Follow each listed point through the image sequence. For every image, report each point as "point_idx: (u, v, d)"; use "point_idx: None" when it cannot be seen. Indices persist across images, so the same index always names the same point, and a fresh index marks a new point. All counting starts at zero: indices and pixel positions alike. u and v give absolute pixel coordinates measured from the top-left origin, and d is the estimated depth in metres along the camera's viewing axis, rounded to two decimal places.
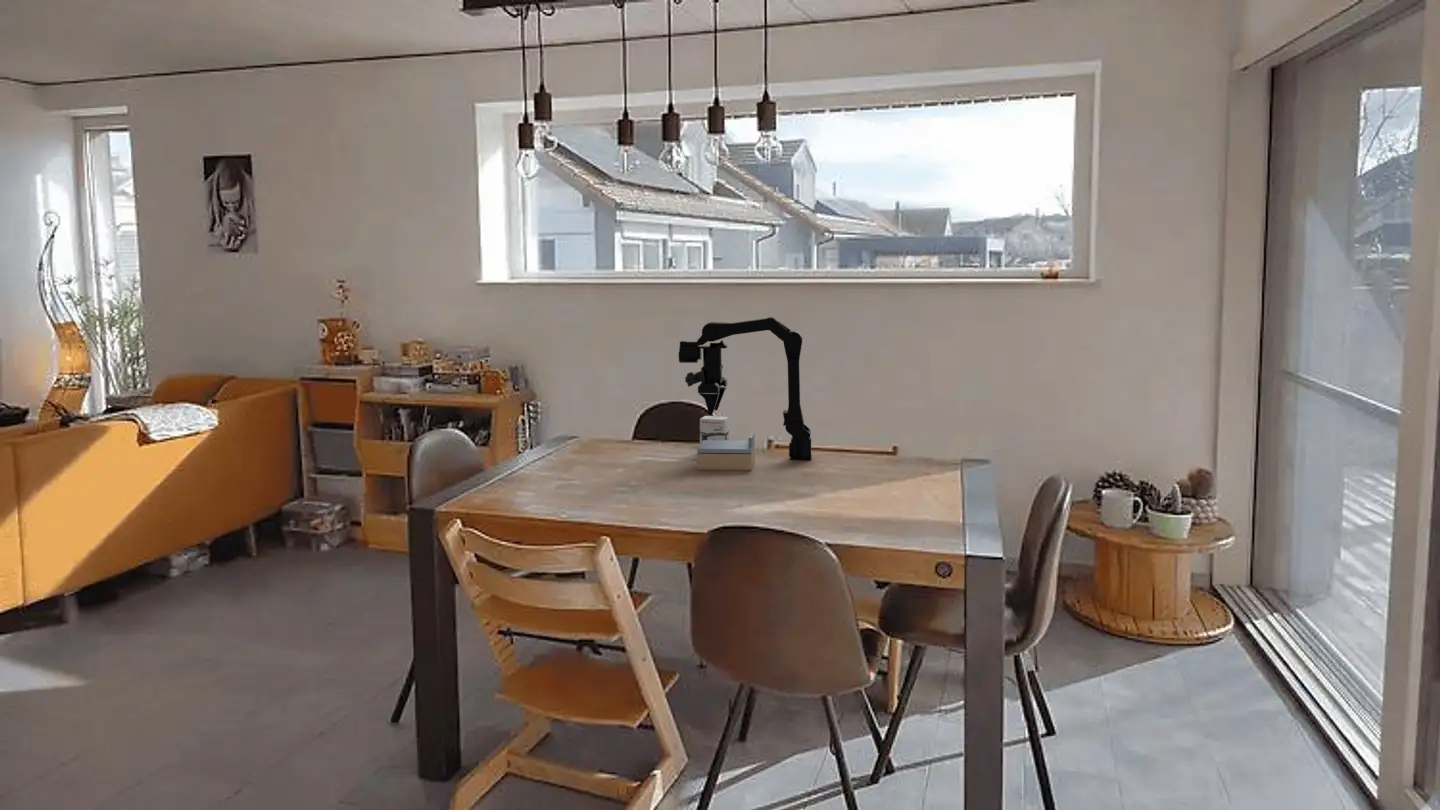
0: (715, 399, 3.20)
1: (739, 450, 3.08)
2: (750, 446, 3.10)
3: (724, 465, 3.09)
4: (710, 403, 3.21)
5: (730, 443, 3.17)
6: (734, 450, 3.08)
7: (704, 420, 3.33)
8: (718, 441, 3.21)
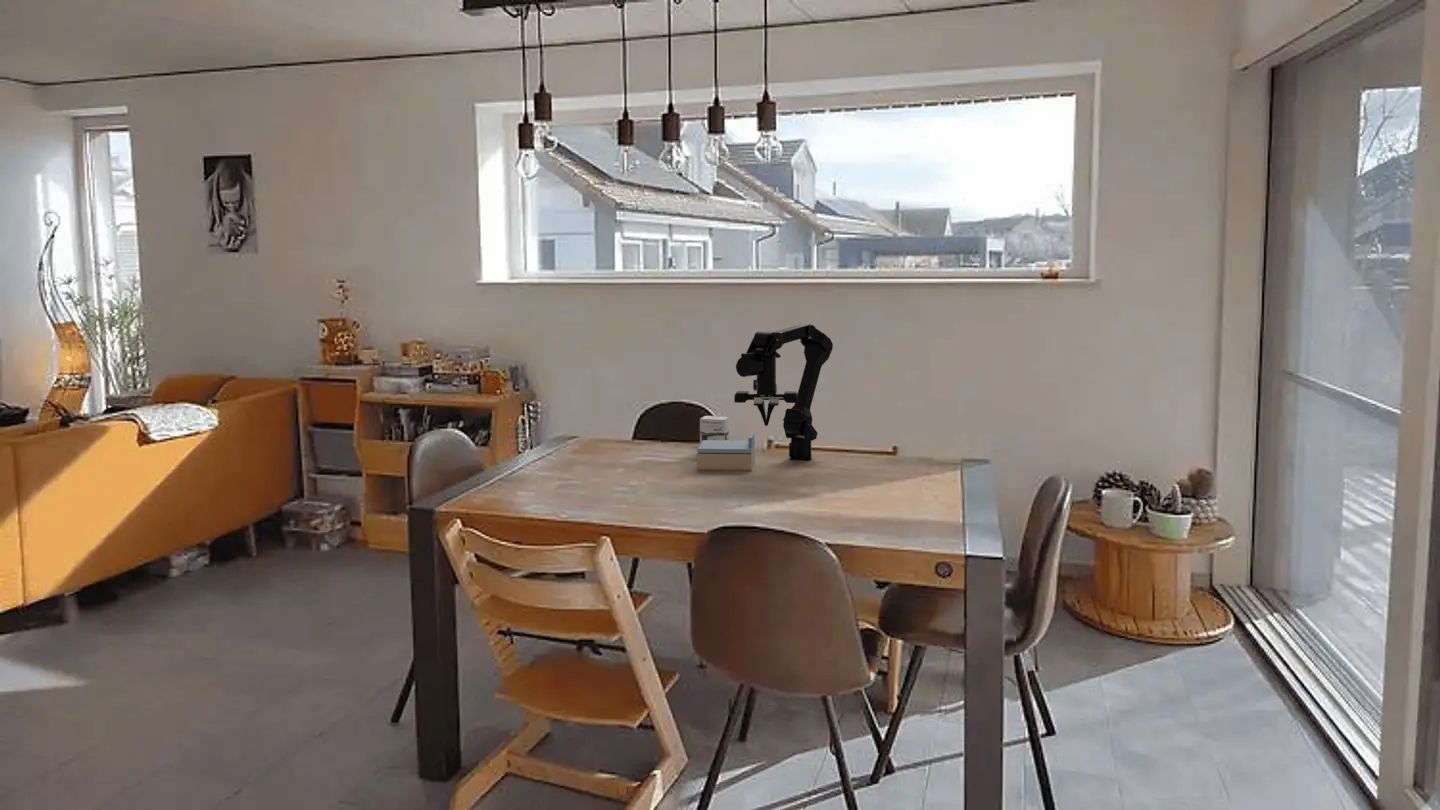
0: None
1: (739, 450, 3.08)
2: (750, 446, 3.10)
3: (724, 465, 3.09)
4: None
5: (730, 443, 3.17)
6: (734, 450, 3.08)
7: (704, 420, 3.33)
8: (718, 441, 3.21)
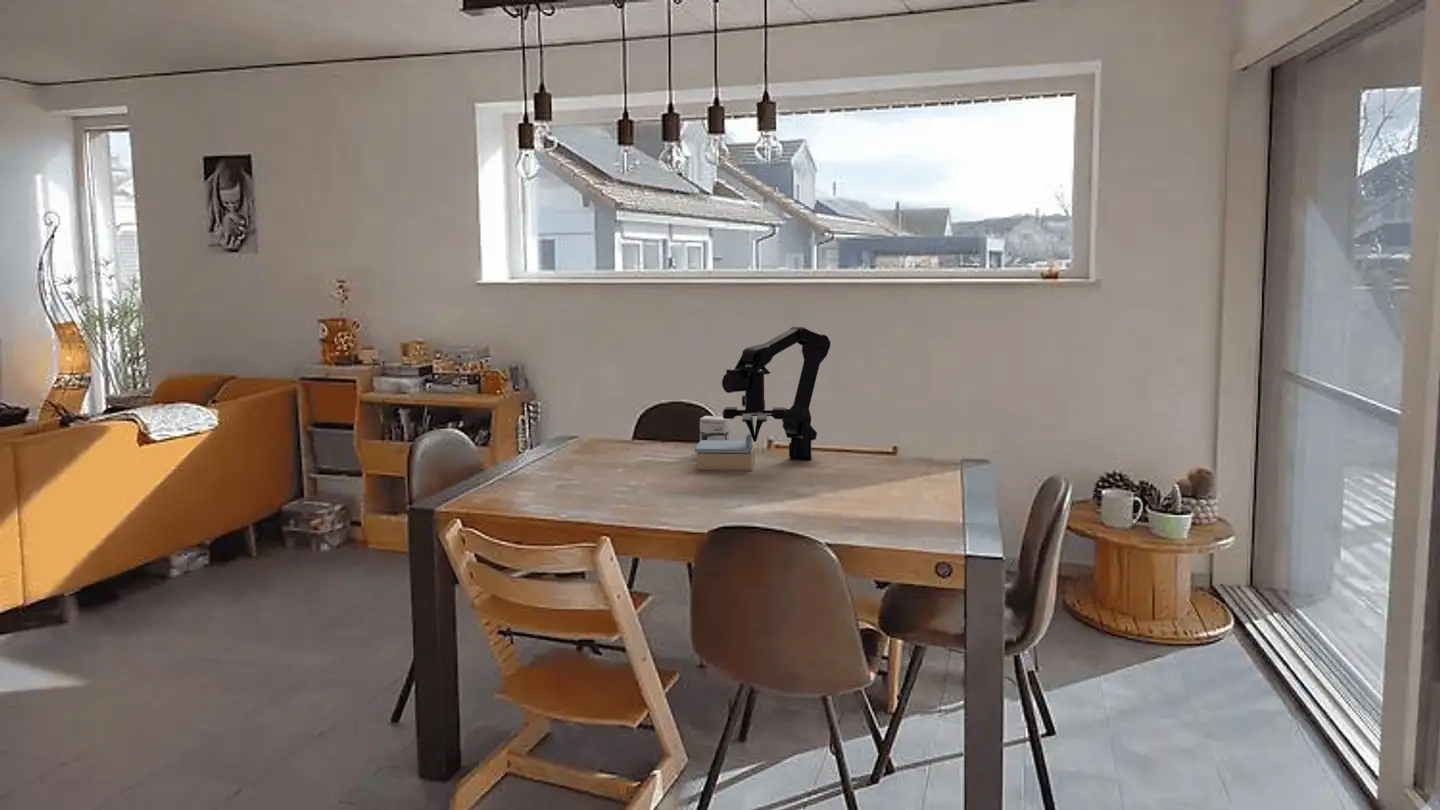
0: None
1: (736, 450, 3.08)
2: (747, 446, 3.10)
3: (724, 465, 3.09)
4: None
5: (727, 443, 3.17)
6: (731, 450, 3.08)
7: (704, 420, 3.33)
8: (716, 441, 3.21)
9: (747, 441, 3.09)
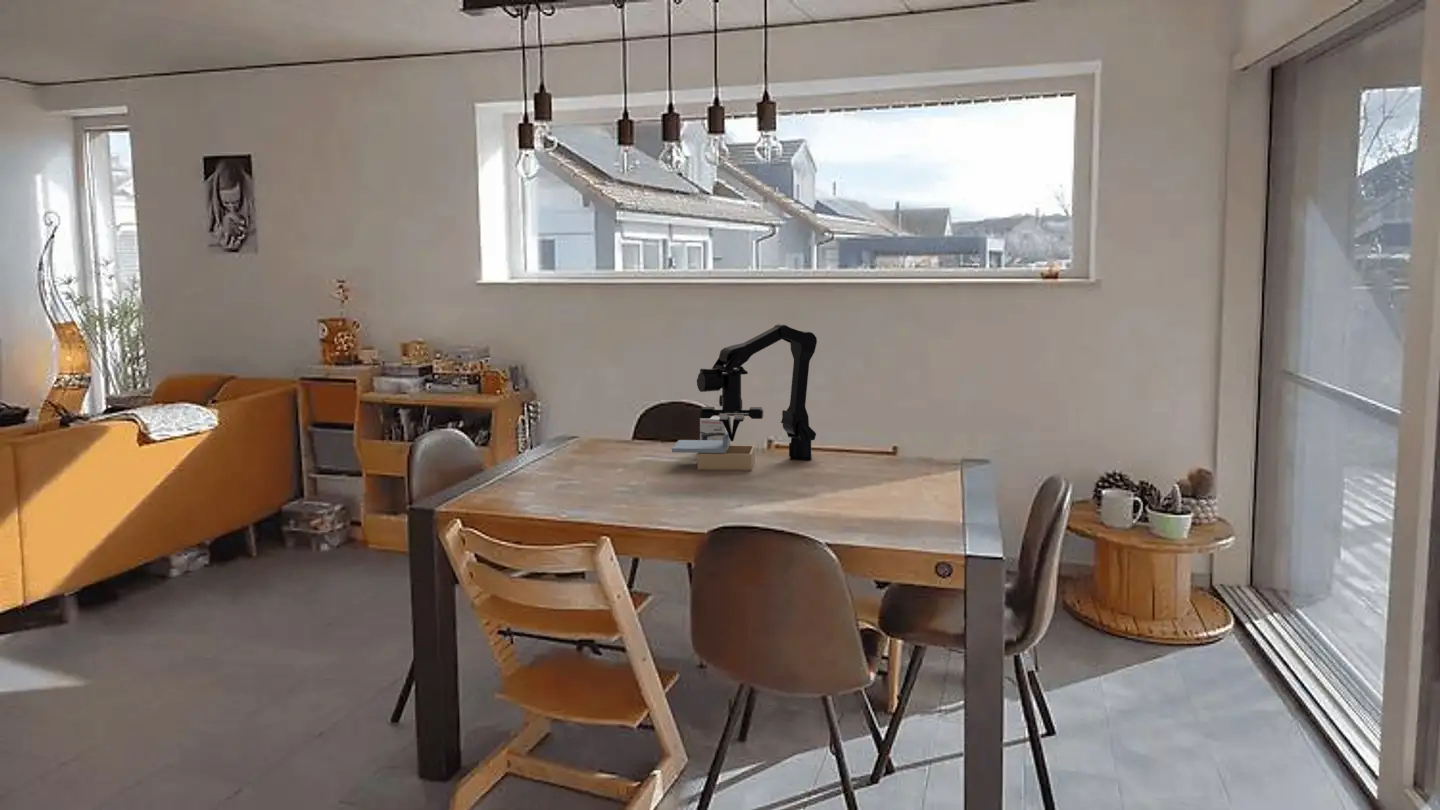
0: None
1: (713, 450, 3.09)
2: (724, 446, 3.10)
3: (724, 465, 3.09)
4: None
5: (705, 443, 3.18)
6: (708, 450, 3.09)
7: (704, 420, 3.33)
8: (693, 441, 3.22)
9: (724, 441, 3.10)
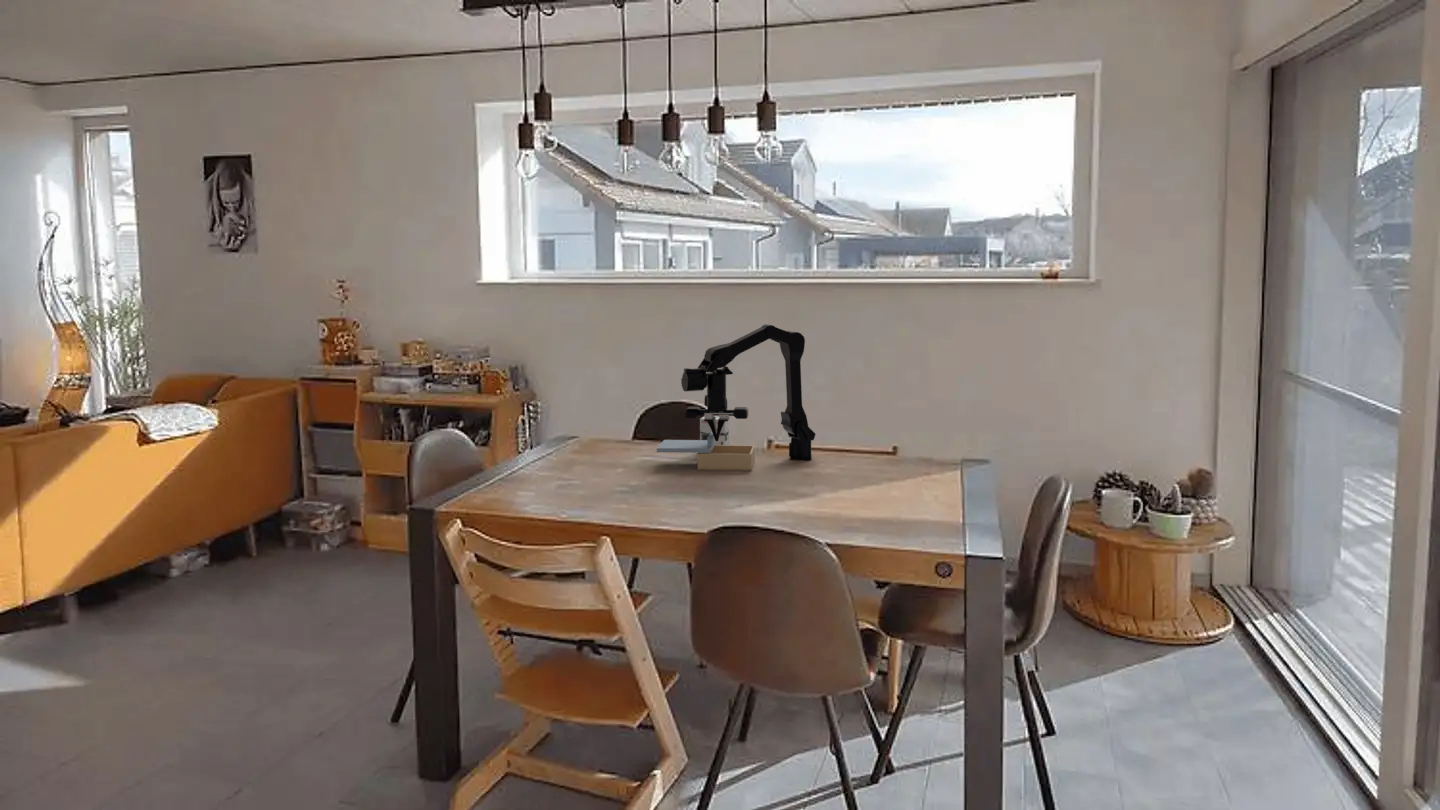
0: None
1: (698, 450, 3.09)
2: (709, 446, 3.11)
3: (724, 465, 3.09)
4: None
5: (690, 443, 3.19)
6: (693, 450, 3.10)
7: None
8: (679, 441, 3.22)
9: (709, 441, 3.11)
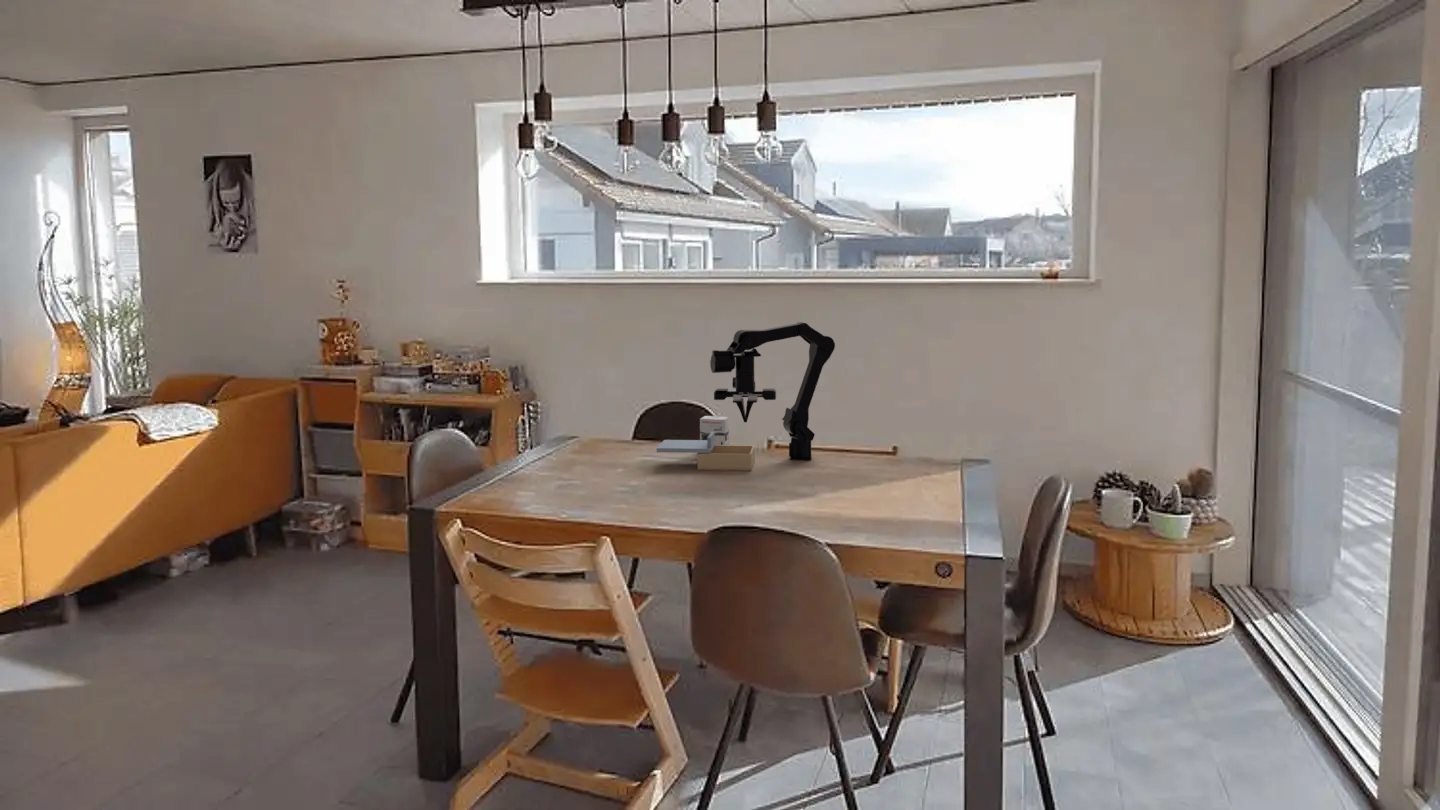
0: None
1: (698, 450, 3.09)
2: (709, 446, 3.11)
3: (724, 465, 3.09)
4: None
5: (690, 443, 3.19)
6: (693, 450, 3.10)
7: (704, 420, 3.33)
8: (678, 441, 3.22)
9: (708, 441, 3.11)
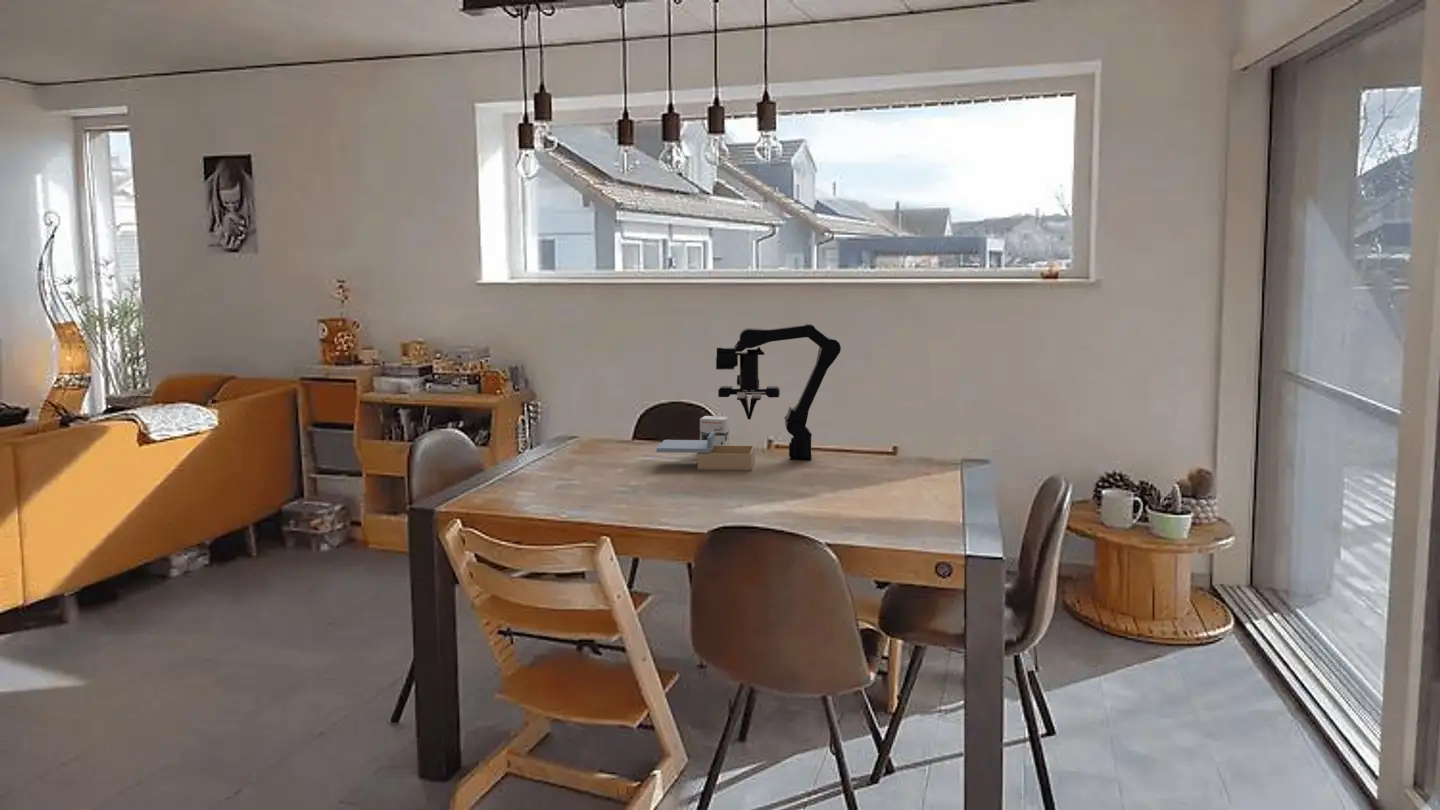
0: None
1: (698, 450, 3.09)
2: (709, 446, 3.11)
3: (724, 465, 3.09)
4: None
5: (690, 443, 3.19)
6: (693, 450, 3.10)
7: (704, 420, 3.33)
8: (678, 441, 3.22)
9: (708, 441, 3.11)
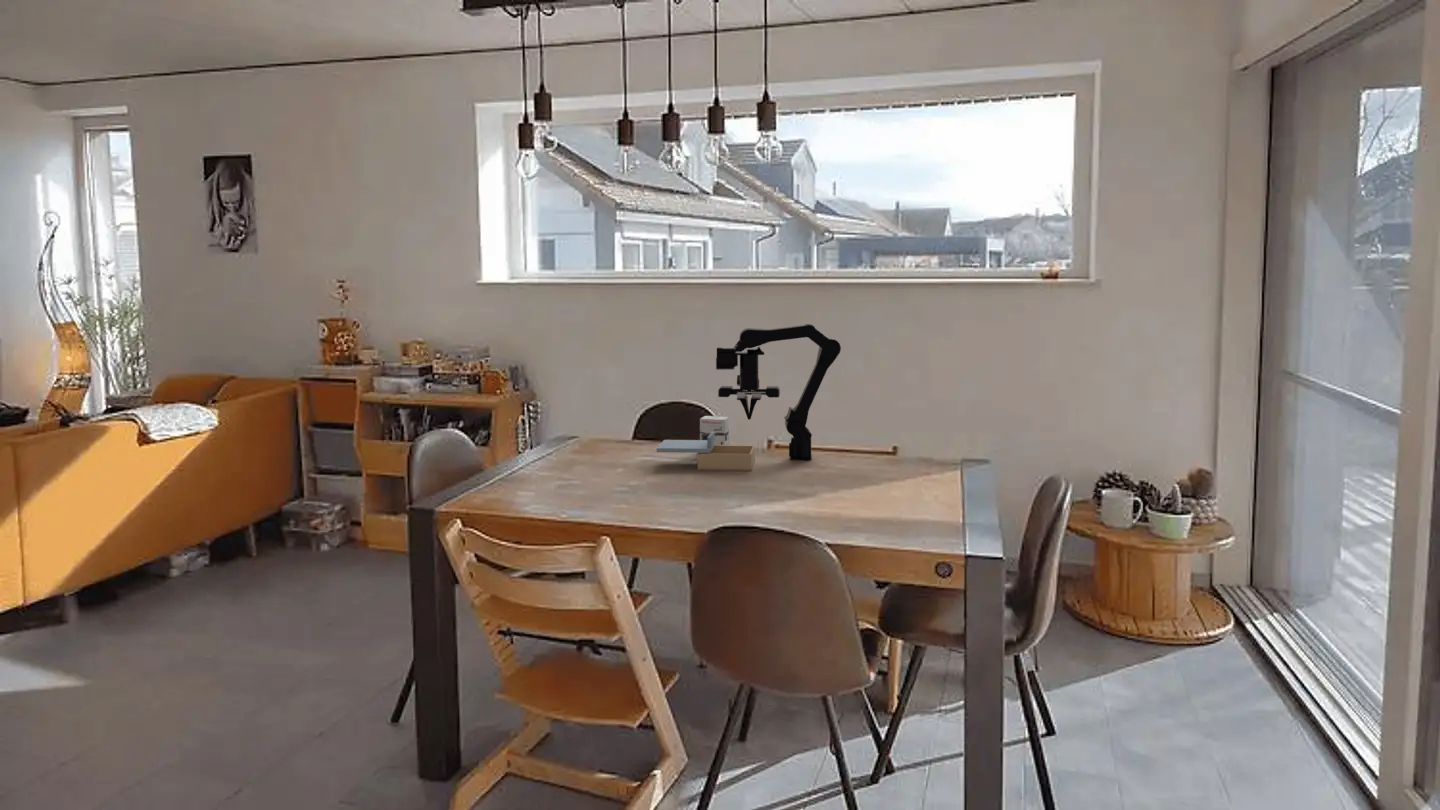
0: None
1: (698, 450, 3.09)
2: (709, 446, 3.11)
3: (724, 465, 3.09)
4: None
5: (690, 443, 3.19)
6: (693, 450, 3.10)
7: (704, 420, 3.33)
8: (678, 441, 3.22)
9: (708, 441, 3.11)
